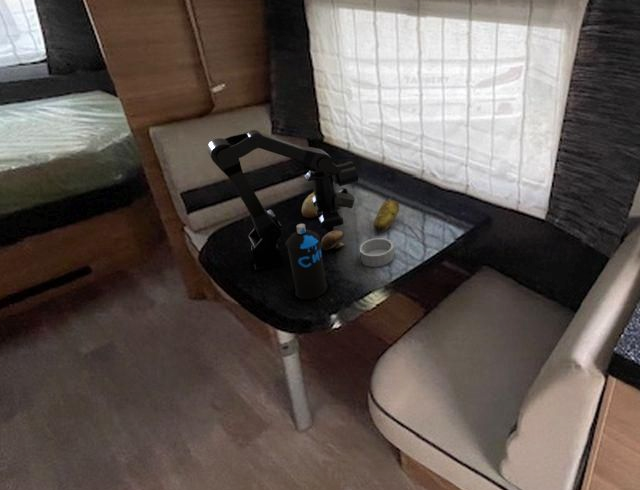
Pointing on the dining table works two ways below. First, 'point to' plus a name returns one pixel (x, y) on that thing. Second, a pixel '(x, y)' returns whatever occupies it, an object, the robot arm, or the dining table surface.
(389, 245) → the white ramekin
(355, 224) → the dining table surface
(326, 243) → the mushroom
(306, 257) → the aerosol can
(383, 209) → the potato
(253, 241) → the robot arm
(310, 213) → the bread roll
